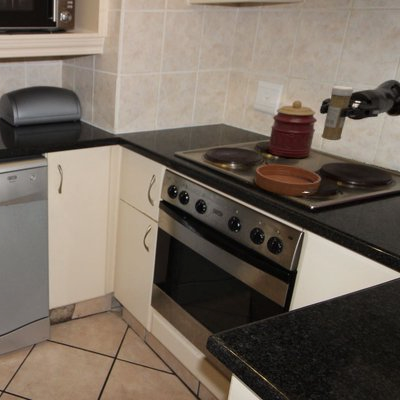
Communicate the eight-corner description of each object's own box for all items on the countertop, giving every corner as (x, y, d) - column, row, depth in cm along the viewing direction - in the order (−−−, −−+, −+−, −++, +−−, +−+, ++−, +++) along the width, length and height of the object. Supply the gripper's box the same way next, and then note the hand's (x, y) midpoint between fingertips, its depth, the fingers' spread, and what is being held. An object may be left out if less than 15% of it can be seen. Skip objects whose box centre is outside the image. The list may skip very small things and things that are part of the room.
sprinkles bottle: (344, 140, 124) (357, 88, 119) (327, 140, 124) (339, 88, 119) (333, 135, 129) (346, 85, 123) (317, 136, 128) (329, 85, 123)
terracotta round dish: (329, 188, 131) (332, 177, 130) (296, 201, 123) (299, 188, 122) (275, 172, 144) (277, 161, 143) (242, 182, 136) (244, 170, 134)
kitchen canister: (318, 154, 160) (328, 101, 154) (295, 160, 154) (305, 105, 147) (281, 146, 170) (290, 96, 164) (259, 151, 164) (267, 100, 158)
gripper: (341, 86, 135) (307, 92, 126) (398, 94, 124) (365, 101, 115) (335, 112, 138) (301, 120, 129) (390, 122, 127) (357, 131, 118)
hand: (332, 111), depth 122 cm, fingers closed on sprinkles bottle, 4 cm apart
